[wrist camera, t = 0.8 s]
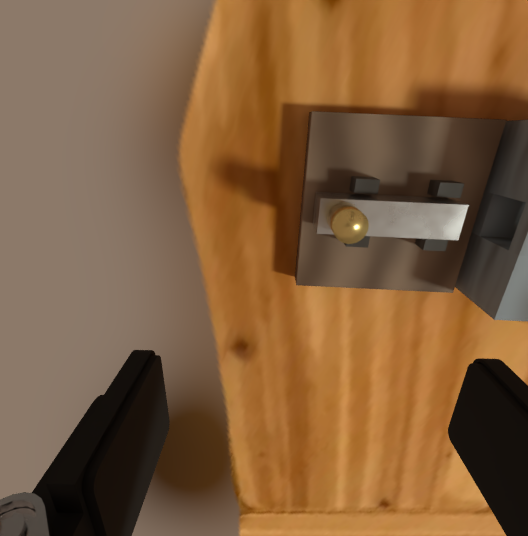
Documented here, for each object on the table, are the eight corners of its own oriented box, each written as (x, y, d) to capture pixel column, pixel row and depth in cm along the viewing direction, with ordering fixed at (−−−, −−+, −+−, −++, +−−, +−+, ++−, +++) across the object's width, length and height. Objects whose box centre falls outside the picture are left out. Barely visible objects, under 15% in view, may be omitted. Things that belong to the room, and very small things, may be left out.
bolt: (312, 224, 30) (321, 245, 24) (315, 192, 28) (326, 206, 23) (440, 230, 29) (479, 252, 24) (449, 198, 28) (492, 213, 23)
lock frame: (295, 276, 34) (300, 310, 28) (309, 113, 28) (320, 106, 21) (526, 288, 34) (586, 324, 27) (593, 125, 28) (691, 122, 21)
